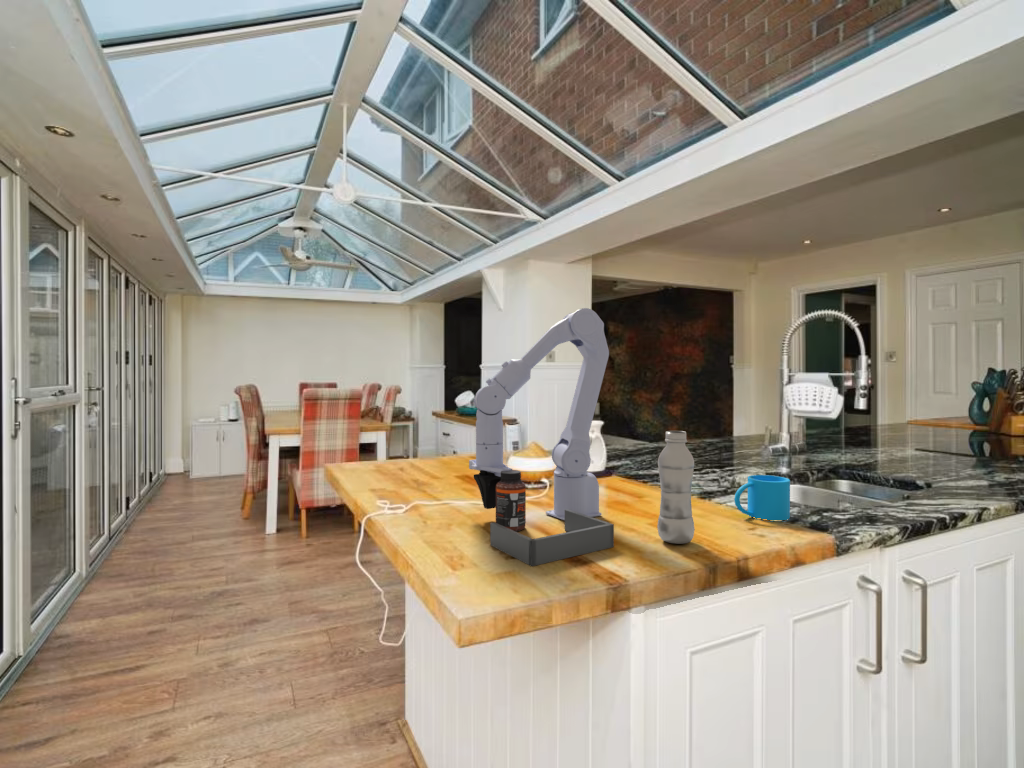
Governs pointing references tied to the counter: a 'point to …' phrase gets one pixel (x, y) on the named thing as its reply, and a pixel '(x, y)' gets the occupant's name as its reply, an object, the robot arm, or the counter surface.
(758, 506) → the mug
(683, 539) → the plastic bottle
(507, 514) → the supplement bottle
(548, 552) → the box
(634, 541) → the counter surface
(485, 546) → the counter surface
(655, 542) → the counter surface
